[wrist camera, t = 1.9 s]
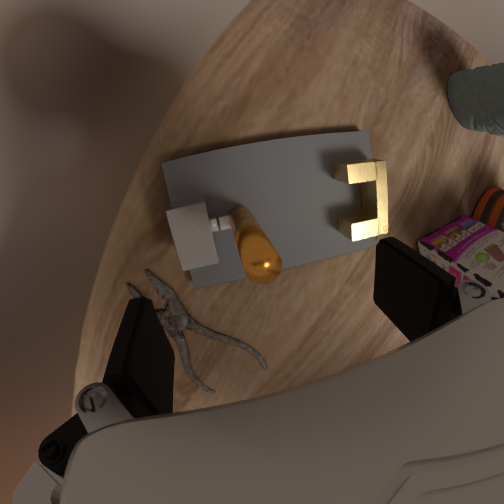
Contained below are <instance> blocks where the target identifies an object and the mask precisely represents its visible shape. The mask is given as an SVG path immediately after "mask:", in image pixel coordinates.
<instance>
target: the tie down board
mask: <svg viewBox="0 0 504 504" xmlns="http://www.w3.org/2000/svg"><path fill="white" fill-rule="evenodd" d="M362 158H371V159H372V156H371V146H370V138H369V131H352V132H337V133H325V134H315V135H305V136H297V137H289V138H281V139H274V140H267V141H261V142H255V143H249V144H243V145H238V146H233V147H227V148H222V149H218V150H213V151H208V152H204V153H199V154H195V155H191V156H187V157H182V158H179V159H175V160H171V161H167V162H163V163H161V165H162V169H163V174H164V178H165V182H166V186H167V190H168V195H169V199H170V202H171V203H173V202H177V201H181V200H185V199H189V198H193V197H198V196H202V195H205V197H206V201H207V206H208V215H209V217H213V216H216V219H217V224H218V228H219V231H216V232H213V237H215V240H216V244H217V249H218V256H219V263H217V264H212V265H208V266H203V267H199V268H195V269H190V270H189V271H190V274H191V277H192V281H193V284H194V287H195V290H196V289H200V288H205V287H209V286H214V285H218V284H223V283H227V282H232V281H236V280H240V279H245V278H247V276H246V274H245V272H244V269H243V265H242V262H241V259H240V256H239V252H238V249H237V246H236V242H235V239H234V236H233V233H232V229H231V228H229V229H225V230H221V227H220V223H219V218H218V215H222V214H227V213H230V211H231V210H232V209H233V208H234V207H236V206H245V207H247V208H248V209H249V210H250V212H251V213H252V215H253V216H254V218H255V219H256V221H257V222H258V224H259V225H260V227H261V228H262V230H263V231H264V233H265V234H266V236H267V237H268V239H269V240H270V242H271V243H272V245H273V246H274V248H275V249H276V251H277V252H278V254H279V256H280V257H281V260H282V269H281V270H283V269H287V268H291V267H295V266H299V265H303V264H307V263H311V262H315V261H319V260H323V259H327V258H331V257H335V256H339V255H343V254H347V253H351V252H354V251H358V250H362V249H366V248H370V247H373V246H375V236H372V237H368V238H364V239H360V240H356V241H351V240H349V239H348V238H347V237H345V236H344V235H343V234H341V233H340V232H338V230H337V215H340V214H345V213H350V212H355V211H360V210H361V198H360V184H359V183H353V184H347V183H344V182H341V181H338V180H334V179H333V172H332V164H331V162H336V161H344V160H353V159H362Z"/></svg>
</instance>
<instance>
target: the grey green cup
mask: <svg viewBox="0 0 504 504" xmlns="http://www.w3.org/2000/svg"><path fill="white" fill-rule="evenodd" d="M448 98H449V102H450V106H451V109H452V111H453V114H454V115H455V118H456V119H457V120H458V122H459V123H460V124H461V125H462V126H463V127H465V128H467V129H469V130H475V131H481V132H489V133H491V134H495V135H499V136H503V137H504V63H498V64H493V65H492V66H488V65H487V66H481V67H476V68H475V69H474V70H471V69H467V70H462V71H458V72H455V73H453V74H452V75H451V76H450V78H449V80H448Z"/></svg>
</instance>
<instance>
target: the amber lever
mask: <svg viewBox="0 0 504 504" xmlns="http://www.w3.org/2000/svg"><path fill="white" fill-rule="evenodd" d="M218 218H219V223H220V227H221V230H225V229H229V228H231V229H232V233H233V236H234V239H235V242H236V246H237V249H238V252H239V256H240V259H241V262H242V265H243V269H244V272H245V274H246V276H247V278H248V279H249V280H251V281H252V282H254V283H258V284H265V283H269V282H271V281H273V280H274V279H275V278H277V276H278V275H279V274H280V272H281V269H282V260H281V257H280V256H279V254H278V252H277V251H276V249H275V248H274V246H273V245H272V243H271V242H270V240H269V239H268V237H267V236H266V234H265V233H264V231H263V230H262V228H261V227H260V225H259V224H258V222H257V221H256V219H255V218H254V216H253V215H252V213H251V212H250V210H249V209H248V208H247V207H245V206H236V207H234V208H233V209H232V210H231V211H230V213H227V214H222V215H218ZM209 220H210V224H211V228H212V232H216V231H219V228H218V224H217V219H216V216H213V217H209Z"/></svg>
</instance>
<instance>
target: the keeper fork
mask: <svg viewBox="0 0 504 504" xmlns="http://www.w3.org/2000/svg"><path fill="white" fill-rule="evenodd" d="M331 164H332V172H333V179H334V180H338V181H341V182H344V183H347V184H353V183H359V184H360V198H361V210H360V211H355V212H350V213H345V214H340V215H337V230H338V232H340V233H341V234H343V235H344V236H345V237H347V238H348V239H349V240H351V241H356V240H360V239H364V238H368V237H372V236H376V235H380V234H384V233H388V194H387V174H386V161H384V160H378V159H371V158H362V159H353V160H344V161H336V162H331Z"/></svg>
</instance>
